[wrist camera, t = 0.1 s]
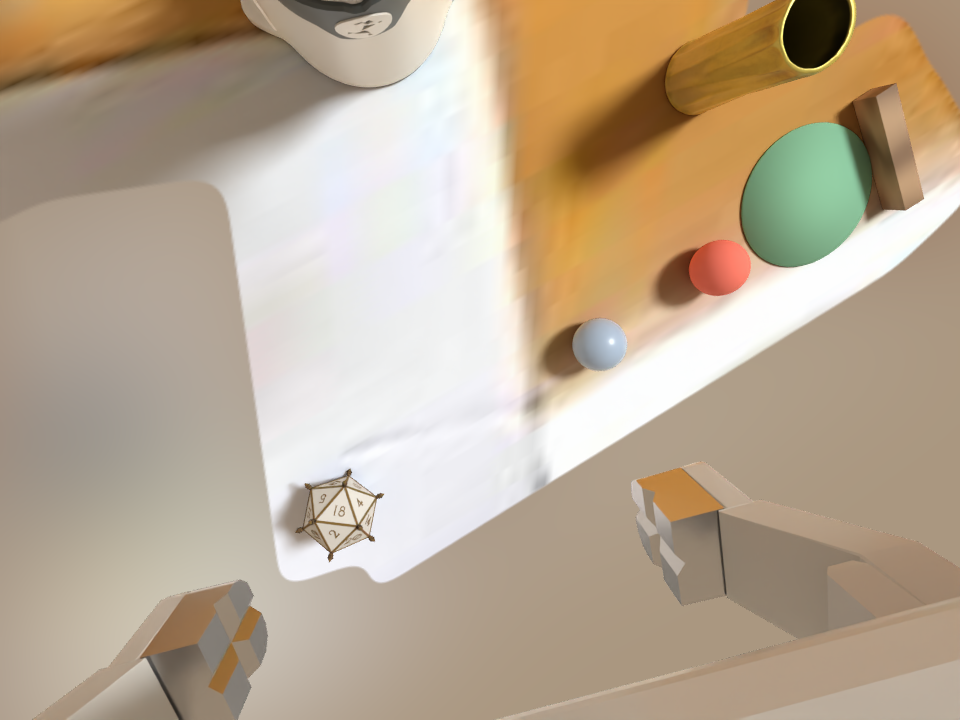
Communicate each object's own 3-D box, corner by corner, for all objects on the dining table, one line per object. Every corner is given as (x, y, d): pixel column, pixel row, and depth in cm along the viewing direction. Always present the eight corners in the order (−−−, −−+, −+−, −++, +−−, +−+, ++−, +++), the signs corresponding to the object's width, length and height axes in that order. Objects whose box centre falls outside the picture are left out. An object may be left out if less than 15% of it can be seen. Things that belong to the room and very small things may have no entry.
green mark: (740, 140, 45) (741, 140, 45) (876, 108, 45) (878, 108, 45) (741, 279, 50) (742, 280, 50) (864, 250, 50) (865, 250, 50)
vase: (660, 116, 43) (765, 83, 30) (666, 40, 41) (782, -33, 28) (722, 114, 44) (851, 80, 30) (731, 38, 42) (874, -34, 28)
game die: (362, 462, 57) (407, 486, 49) (349, 531, 56) (392, 565, 49) (290, 461, 51) (328, 488, 43) (274, 538, 50) (310, 579, 43)
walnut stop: (852, 101, 45) (876, 96, 42) (871, 88, 44) (896, 83, 42) (882, 209, 49) (905, 210, 46) (900, 198, 49) (924, 198, 46)
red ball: (677, 244, 48) (707, 250, 42) (727, 232, 48) (764, 237, 43) (680, 295, 50) (709, 307, 44) (728, 283, 50) (763, 293, 45)
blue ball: (562, 319, 49) (578, 333, 44) (611, 307, 49) (633, 320, 44) (569, 365, 51) (585, 384, 46) (617, 353, 51) (638, 371, 46)
